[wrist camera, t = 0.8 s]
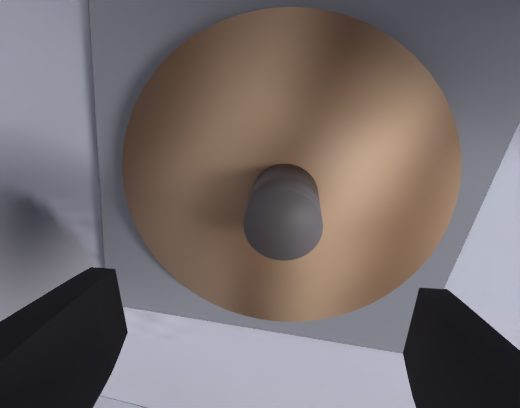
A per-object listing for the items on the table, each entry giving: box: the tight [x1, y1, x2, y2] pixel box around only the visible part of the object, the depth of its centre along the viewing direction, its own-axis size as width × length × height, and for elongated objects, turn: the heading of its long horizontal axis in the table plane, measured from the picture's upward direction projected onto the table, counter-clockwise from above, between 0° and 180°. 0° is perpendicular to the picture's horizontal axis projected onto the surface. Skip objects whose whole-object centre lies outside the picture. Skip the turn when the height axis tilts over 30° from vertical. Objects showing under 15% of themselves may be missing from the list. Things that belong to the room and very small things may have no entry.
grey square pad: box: [89, 0, 520, 353], centre depth 17 cm, size 18×18×1 cm
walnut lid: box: [122, 7, 462, 322], centre depth 15 cm, size 15×15×4 cm
